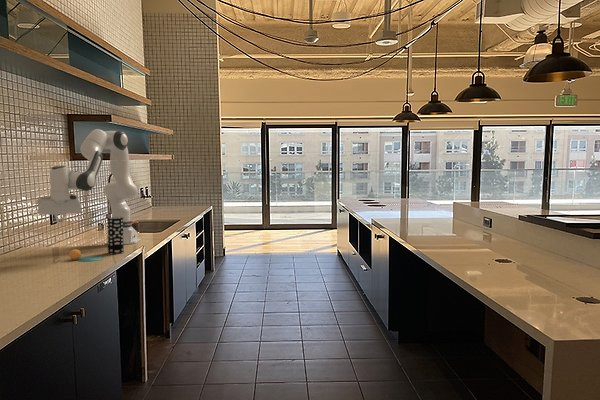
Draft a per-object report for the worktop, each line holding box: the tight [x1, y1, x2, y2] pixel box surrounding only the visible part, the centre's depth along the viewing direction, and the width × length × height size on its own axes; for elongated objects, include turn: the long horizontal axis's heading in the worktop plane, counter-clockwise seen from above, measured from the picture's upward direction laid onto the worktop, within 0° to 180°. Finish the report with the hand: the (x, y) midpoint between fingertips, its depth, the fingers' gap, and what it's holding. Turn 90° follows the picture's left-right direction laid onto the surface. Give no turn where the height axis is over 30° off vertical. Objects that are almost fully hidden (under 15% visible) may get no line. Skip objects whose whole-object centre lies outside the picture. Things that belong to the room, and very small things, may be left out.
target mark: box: [76, 255, 104, 263], centre depth 236 cm, size 13×13×1 cm
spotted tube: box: [106, 216, 125, 255], centre depth 252 cm, size 8×8×20 cm
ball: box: [69, 249, 82, 261], centre depth 233 cm, size 6×6×6 cm
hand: (60, 222), depth 236 cm, fingers closed
